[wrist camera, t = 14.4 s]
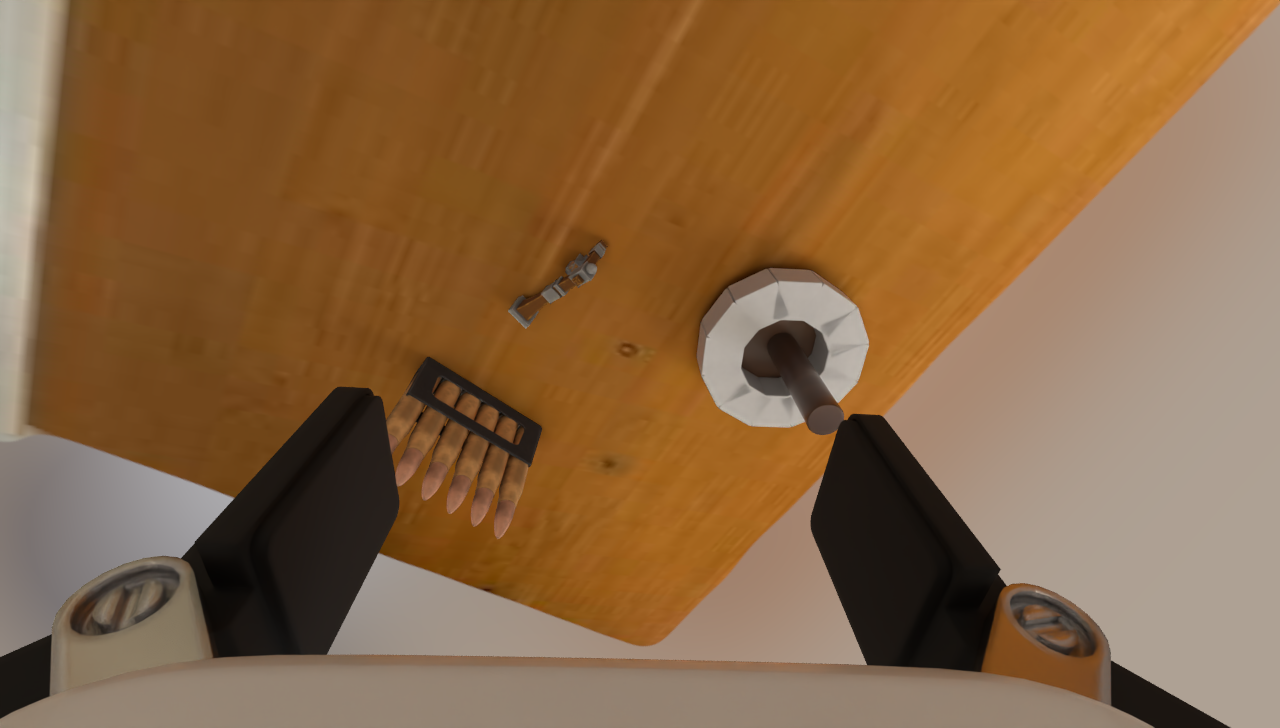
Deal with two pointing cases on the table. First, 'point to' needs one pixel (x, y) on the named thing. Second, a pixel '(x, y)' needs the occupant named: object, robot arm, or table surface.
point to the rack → (794, 371)
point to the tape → (762, 306)
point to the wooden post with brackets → (559, 285)
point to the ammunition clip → (463, 442)
